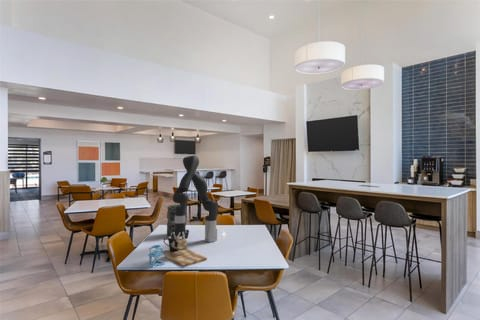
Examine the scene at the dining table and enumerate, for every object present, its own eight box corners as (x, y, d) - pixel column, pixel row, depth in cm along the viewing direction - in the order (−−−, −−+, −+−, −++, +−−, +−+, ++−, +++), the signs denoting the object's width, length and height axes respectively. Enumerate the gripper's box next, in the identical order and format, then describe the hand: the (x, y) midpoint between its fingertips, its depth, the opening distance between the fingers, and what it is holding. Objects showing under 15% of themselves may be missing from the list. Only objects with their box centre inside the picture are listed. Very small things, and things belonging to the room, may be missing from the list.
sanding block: (179, 245, 192) (179, 237, 192) (186, 249, 186) (186, 240, 186) (173, 247, 188) (173, 238, 188) (180, 250, 182) (180, 241, 182)
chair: (146, 265, 169) (146, 246, 169) (156, 261, 176) (157, 243, 176) (154, 268, 165) (154, 249, 165) (164, 264, 172) (165, 245, 172)
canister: (181, 238, 227) (181, 205, 227) (163, 237, 230) (164, 204, 230) (187, 233, 243) (188, 202, 243) (171, 232, 245) (171, 201, 245)
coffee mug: (182, 250, 199) (182, 236, 199) (174, 253, 191) (174, 239, 191) (171, 247, 205) (171, 234, 205) (162, 250, 197) (162, 236, 197)
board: (186, 250, 197) (186, 248, 197) (206, 259, 180) (206, 257, 180) (164, 256, 184) (164, 254, 184) (183, 267, 167) (183, 264, 167)
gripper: (186, 219, 195) (185, 242, 195) (168, 222, 185) (167, 246, 185) (191, 221, 189) (191, 245, 189) (173, 224, 180) (173, 249, 179)
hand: (179, 246), depth 187 cm, fingers closed on sanding block, 5 cm apart
